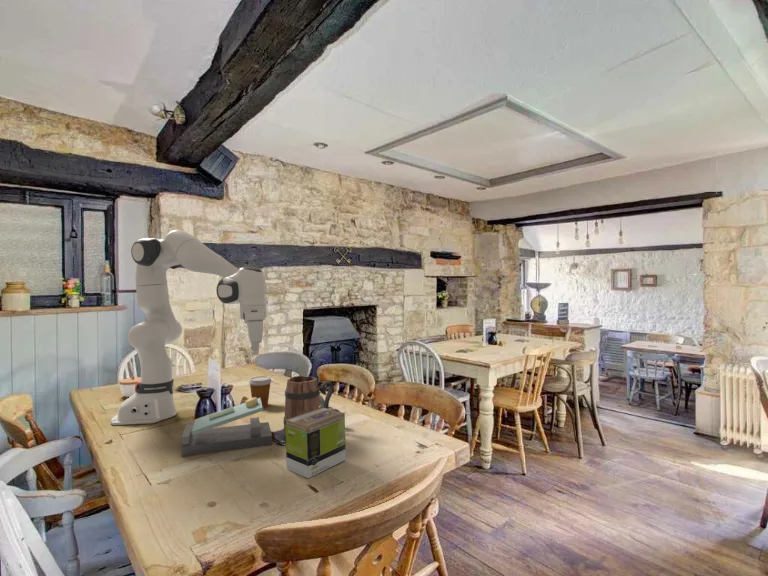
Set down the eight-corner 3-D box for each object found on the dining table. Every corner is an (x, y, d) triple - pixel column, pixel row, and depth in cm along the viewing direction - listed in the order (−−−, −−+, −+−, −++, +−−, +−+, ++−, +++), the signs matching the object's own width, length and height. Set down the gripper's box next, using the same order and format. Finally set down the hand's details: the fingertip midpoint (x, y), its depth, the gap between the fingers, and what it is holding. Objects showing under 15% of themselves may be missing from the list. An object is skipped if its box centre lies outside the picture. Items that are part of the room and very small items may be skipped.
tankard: (289, 448, 130) (289, 387, 130) (270, 433, 144) (270, 377, 144) (351, 433, 144) (351, 377, 144) (328, 420, 158) (328, 369, 158)
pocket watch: (334, 409, 172) (334, 385, 172) (330, 415, 163) (330, 391, 163) (316, 408, 172) (316, 385, 172) (310, 414, 164) (310, 390, 164)
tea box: (323, 452, 128) (323, 406, 128) (346, 461, 121) (346, 412, 121) (284, 469, 116) (284, 418, 116) (307, 480, 110) (307, 426, 110)
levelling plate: (192, 435, 126) (189, 425, 126) (196, 422, 137) (193, 413, 137) (263, 410, 133) (260, 401, 133) (261, 400, 145) (258, 392, 144)
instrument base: (181, 456, 124) (181, 438, 124) (186, 440, 137) (186, 423, 137) (271, 444, 134) (271, 427, 134) (268, 430, 147) (268, 414, 147)
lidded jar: (121, 394, 194) (121, 375, 194) (147, 391, 198) (147, 373, 198) (117, 400, 184) (117, 379, 184) (144, 397, 189) (144, 377, 189)
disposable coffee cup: (267, 409, 171) (267, 381, 171) (245, 408, 172) (245, 380, 172) (274, 402, 181) (274, 375, 181) (253, 402, 181) (253, 375, 181)
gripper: (242, 311, 149) (244, 348, 149) (245, 316, 130) (246, 358, 130) (260, 310, 151) (262, 347, 152) (265, 314, 132) (267, 356, 132)
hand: (255, 352), depth 141 cm, fingers open, 8 cm apart
